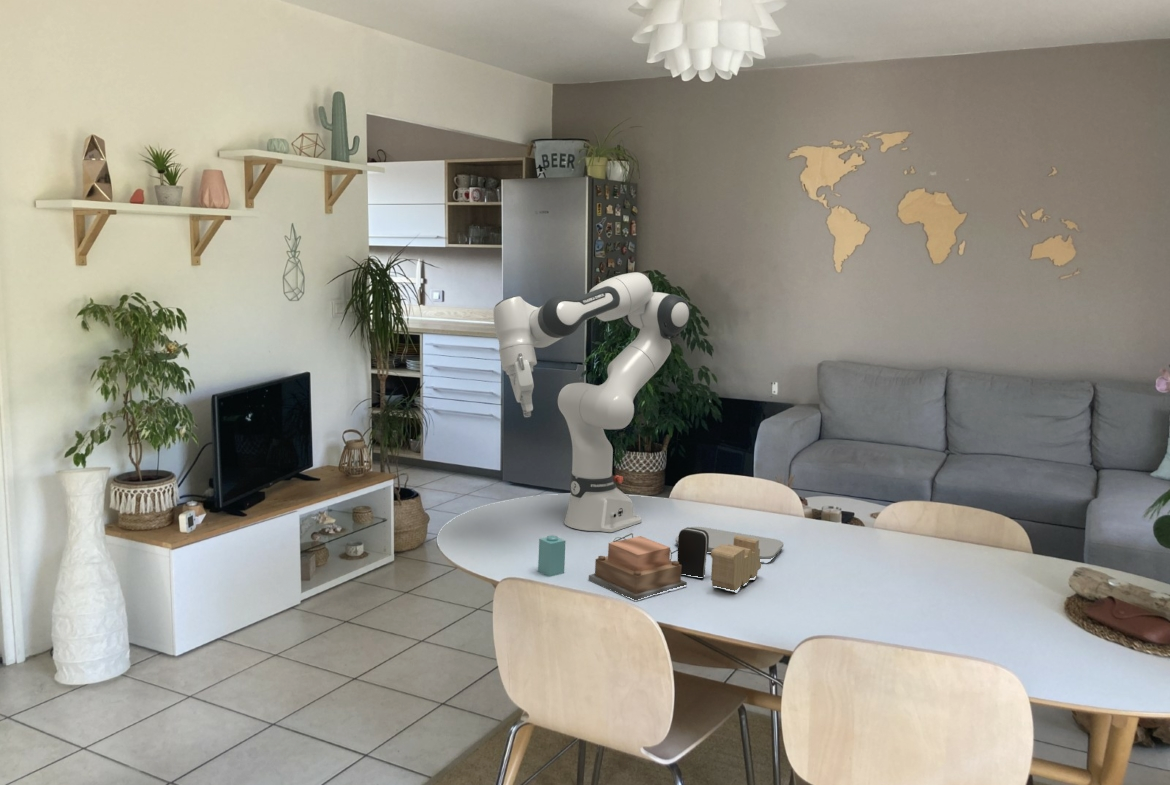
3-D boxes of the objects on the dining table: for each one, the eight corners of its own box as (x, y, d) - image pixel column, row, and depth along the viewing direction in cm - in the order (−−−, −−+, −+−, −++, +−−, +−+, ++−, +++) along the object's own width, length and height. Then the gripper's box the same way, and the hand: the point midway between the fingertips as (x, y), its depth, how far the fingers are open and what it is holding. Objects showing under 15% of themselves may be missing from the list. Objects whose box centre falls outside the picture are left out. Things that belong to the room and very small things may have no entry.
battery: (708, 575, 224) (711, 529, 223) (703, 580, 221) (706, 533, 219) (680, 570, 227) (683, 524, 226) (675, 574, 224) (678, 528, 222)
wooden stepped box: (638, 567, 228) (640, 530, 227) (686, 587, 216) (688, 548, 214) (588, 580, 218) (590, 541, 216) (635, 601, 206) (637, 561, 204)
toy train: (760, 577, 225) (763, 537, 223) (730, 597, 211) (733, 555, 209) (738, 572, 228) (741, 532, 226) (708, 592, 214) (710, 549, 212)
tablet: (691, 533, 259) (692, 525, 258) (785, 549, 248) (786, 541, 248) (671, 549, 244) (672, 540, 244) (770, 566, 233) (770, 558, 233)
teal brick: (552, 567, 225) (554, 533, 224) (564, 573, 222) (565, 538, 220) (538, 571, 222) (539, 536, 221) (549, 576, 219) (550, 541, 218)
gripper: (533, 349, 226) (543, 405, 224) (529, 366, 246) (539, 417, 244) (507, 353, 225) (517, 409, 223) (505, 370, 245) (515, 421, 243)
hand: (528, 413), depth 234 cm, fingers open, 8 cm apart
